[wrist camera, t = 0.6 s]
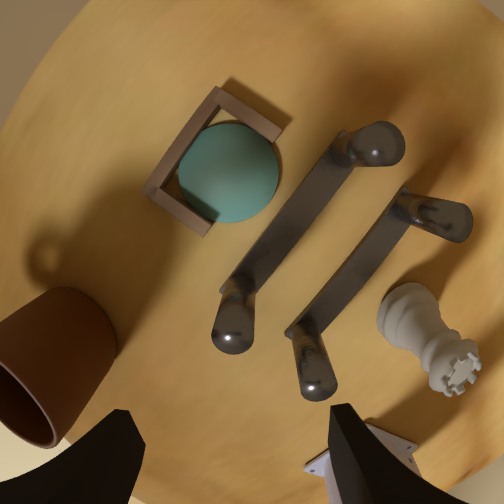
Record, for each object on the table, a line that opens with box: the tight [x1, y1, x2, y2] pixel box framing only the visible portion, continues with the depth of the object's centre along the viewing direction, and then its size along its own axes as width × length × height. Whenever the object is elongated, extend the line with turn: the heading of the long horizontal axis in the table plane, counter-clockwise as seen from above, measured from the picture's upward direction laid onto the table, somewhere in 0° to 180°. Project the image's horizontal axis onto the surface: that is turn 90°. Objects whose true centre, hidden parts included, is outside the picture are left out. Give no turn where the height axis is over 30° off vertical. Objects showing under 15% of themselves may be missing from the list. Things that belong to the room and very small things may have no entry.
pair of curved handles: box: [211, 121, 473, 402], centre depth 15 cm, size 7×12×6 cm, turn 144°
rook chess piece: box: [377, 283, 483, 397], centre depth 15 cm, size 4×4×8 cm
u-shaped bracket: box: [141, 86, 282, 237], centre depth 16 cm, size 6×7×1 cm
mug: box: [0, 287, 116, 449], centre depth 15 cm, size 12×8×9 cm, turn 87°
